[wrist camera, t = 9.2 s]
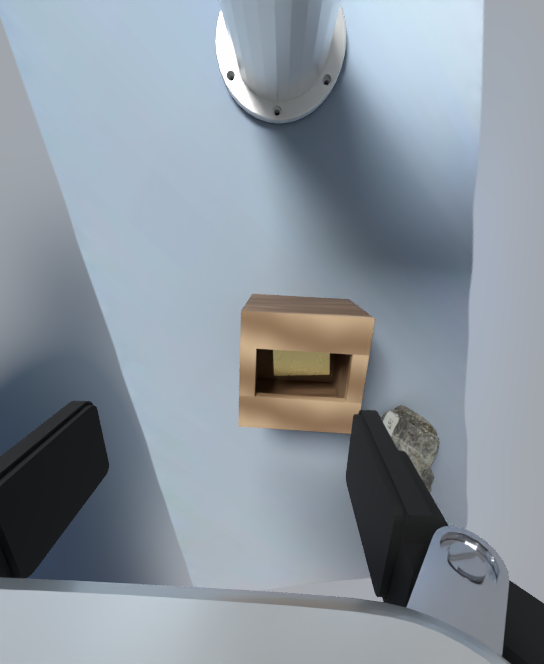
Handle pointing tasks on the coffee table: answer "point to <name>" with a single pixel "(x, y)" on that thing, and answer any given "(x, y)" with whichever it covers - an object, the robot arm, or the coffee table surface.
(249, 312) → the box
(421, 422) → the stone
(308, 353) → the brushed brass block
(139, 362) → the coffee table surface
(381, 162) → the coffee table surface
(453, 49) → the coffee table surface
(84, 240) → the coffee table surface
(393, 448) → the robot arm
